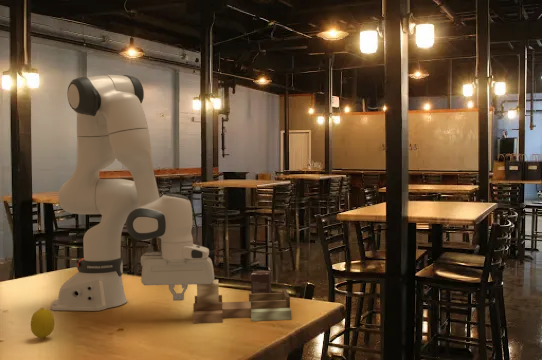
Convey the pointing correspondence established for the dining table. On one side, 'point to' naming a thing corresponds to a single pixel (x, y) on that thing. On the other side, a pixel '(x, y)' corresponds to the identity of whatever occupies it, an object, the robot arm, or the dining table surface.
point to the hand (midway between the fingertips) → (178, 300)
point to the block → (208, 292)
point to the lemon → (42, 323)
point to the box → (260, 282)
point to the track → (245, 308)
